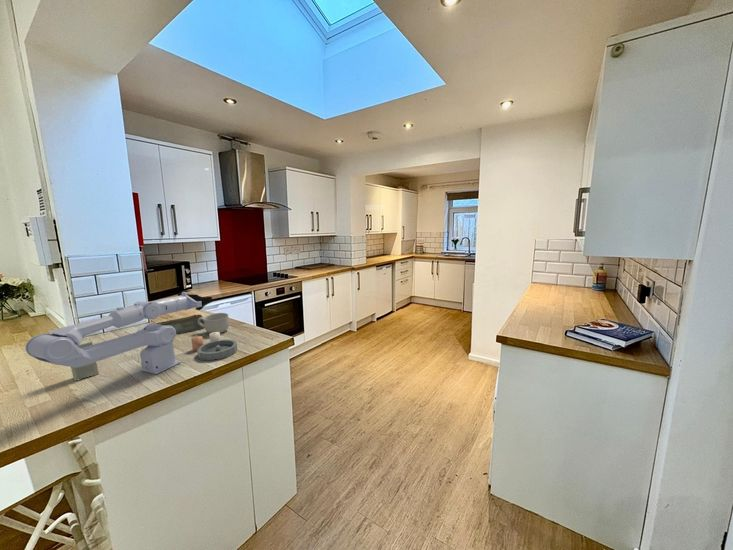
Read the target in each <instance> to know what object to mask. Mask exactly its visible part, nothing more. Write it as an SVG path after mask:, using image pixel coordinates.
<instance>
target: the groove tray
mask: <svg viewBox="0 0 733 550" xmlns="http://www.w3.org/2000/svg"><path fill="white" fill-rule="evenodd" d="M236 351H237V352H238V342H237V341H236V340H234V339H229V338H228V339H227V338H225V339H221V340H216V341H212V342H210V341H209V342H206V343H203V345H202V346H200V347H199V348H198V350H197V351H196V353H197V356H198V359H199V360H202V361H205V360H211V361H216V360H215V359H218V360H221V359H220V358H223V359H225V358H224V357H226V358H228V357H227V356H229V355H231V354H233V353H234V354H236V353H237V352H236ZM235 352H236V353H235ZM234 354H233V355H234ZM231 356H232V355H231ZM229 357H230V356H229Z"/></svg>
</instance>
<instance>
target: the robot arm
mask: <svg viewBox="0 0 733 550" xmlns="http://www.w3.org/2000/svg"><path fill="white" fill-rule="evenodd" d="M212 302H213V297H212V296H201V295H199V294H189V293H187V292H185V291H182V292H178V293H177V296H171V297H165V298H159V299H157V300H153V301H136V302H134V304H133V305H129V306H125V307H123V306H118V307H116V309H115V310H111V311H110V312H109V314H108V316H105V317H99V318H96V319H91V320H89V321H84V322H80V323H75V324H71V325H68V326H64V327H60V328H55V329H52V330H49V331H47V333H41V334H40V333H39V334H37V335H34V336H33V337H31V338H30V339H29V340H27V342H26V344H25V348H24V349H25V352H26V353H27V354H28V355H29V356H30V357H32V358H34V359H37V360H38V361H41V362H43V363H44V362H45V363H50V364H52V365H55V366H63V367H69V368H71V367H75V368H78V367H82V366H85V365H88V364H91V363H94V362H96V363H97V362H99V361H104V360H106V359H109V358H112V357H115V356H118V355H122V354H123V353H126V352H130V351H132V350H135V349H139V348H142V347H144V348H143V349H141V350H140V355H139V356H140V362H141V369H140V370H141V372H145V373H149V374H153V375H157V374H158V375H159V374H160V373H163V372H164V371H165V370H168V369H170V368H173V367H174V366H176V365H180V364H181V363H182V361H181V360H177V359H176V355H175V347H174V340H175V338H176V336H177V335H176V330H175V328H174V327H173V326H165V325H158V324H157V323H153V322H152V323H148V324H147V325H146V326H144V327H142V328H140V329H138V330H137V331H136V332H133V333H129V334H125V335H122V336H119V337H115V338H112V339H108V340H105V341H101V342H98V343H94V344H93V345H91V346H87V347H84V348H79V347H77V346H76V345H80V343H81V341H83V338H84V337H86V336H89V335H91V334H94V333H96V332H99V331H103V330H105V329H108V328H111V327H114V328H118V329H121V328H124V327H126V326H129V325H133V324H136V323H139V322H142V321H143V320H145V319H146V320H156V319H157V318H159V317H160V316H163V315H168V314H173V313H177V312H181V311H187V310H191V309H195V311H200V310H202V309H203V308H204V307H206V306H207V305H209V304H211V303H212Z"/></svg>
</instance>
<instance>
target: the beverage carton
mask: <svg viewBox="0 0 733 550" xmlns="http://www.w3.org/2000/svg"><path fill="white" fill-rule="evenodd" d="M201 317H203V315H202V314H194V315H193V314H192V315H191V316H185V317H182V318H176V319H171V320H170V319H169V320H166V321H160V322H157V323H156V324H158V325H165V326H173V327H174V328H175V330H176V334H177V335H180V334H184V333H185V332H186V333H188V332H189V331H190V332H193V331H199V330H203V329H205V328H204V327H202V326H200V325H199V324H198V322H197V321H198V319H199V318H201ZM200 322H201V323H202V324H203V325H205V324H204V321H203V320H200ZM190 332H189V333H190ZM186 333H185V334H186Z"/></svg>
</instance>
